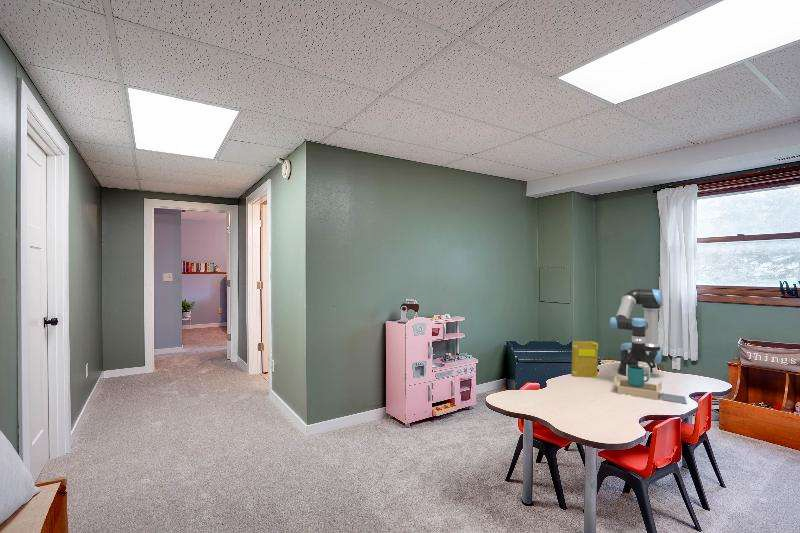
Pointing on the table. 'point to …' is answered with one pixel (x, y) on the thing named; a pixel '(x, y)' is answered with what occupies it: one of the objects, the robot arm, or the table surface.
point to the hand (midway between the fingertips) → (638, 376)
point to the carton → (638, 389)
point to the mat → (674, 398)
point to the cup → (636, 376)
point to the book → (584, 359)
